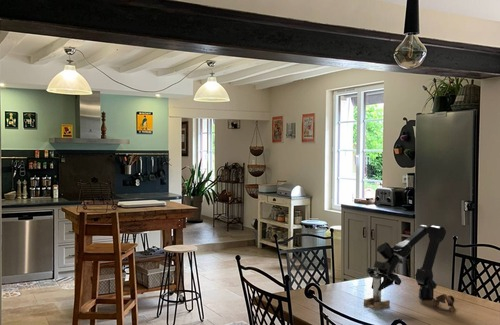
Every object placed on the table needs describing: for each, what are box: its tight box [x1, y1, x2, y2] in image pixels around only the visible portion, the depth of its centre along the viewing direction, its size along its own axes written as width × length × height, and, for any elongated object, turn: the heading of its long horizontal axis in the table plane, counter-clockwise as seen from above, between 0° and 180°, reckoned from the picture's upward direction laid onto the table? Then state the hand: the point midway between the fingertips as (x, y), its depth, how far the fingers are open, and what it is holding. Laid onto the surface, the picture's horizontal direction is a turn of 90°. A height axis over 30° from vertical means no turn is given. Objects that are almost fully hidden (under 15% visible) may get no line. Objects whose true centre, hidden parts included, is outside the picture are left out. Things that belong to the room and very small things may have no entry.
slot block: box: [363, 297, 390, 310], centre depth 250 cm, size 10×8×3 cm
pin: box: [372, 274, 383, 303], centre depth 250 cm, size 4×4×14 cm
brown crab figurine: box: [432, 293, 456, 313], centre depth 249 cm, size 12×10×8 cm
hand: (375, 289), depth 250 cm, fingers closed on pin, 4 cm apart
